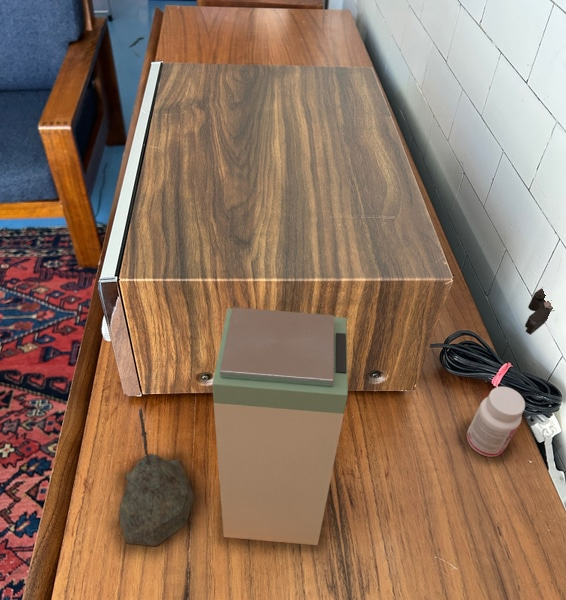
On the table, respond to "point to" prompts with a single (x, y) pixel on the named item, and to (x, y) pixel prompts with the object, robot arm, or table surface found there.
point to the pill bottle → (496, 421)
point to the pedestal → (275, 471)
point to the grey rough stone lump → (154, 499)
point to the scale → (282, 361)
